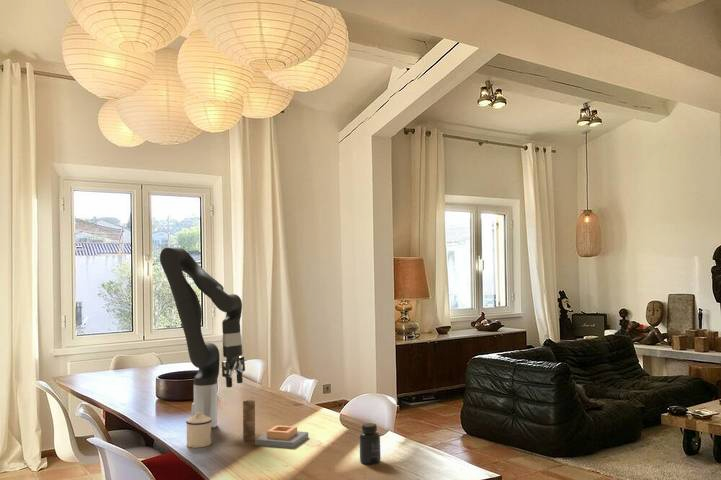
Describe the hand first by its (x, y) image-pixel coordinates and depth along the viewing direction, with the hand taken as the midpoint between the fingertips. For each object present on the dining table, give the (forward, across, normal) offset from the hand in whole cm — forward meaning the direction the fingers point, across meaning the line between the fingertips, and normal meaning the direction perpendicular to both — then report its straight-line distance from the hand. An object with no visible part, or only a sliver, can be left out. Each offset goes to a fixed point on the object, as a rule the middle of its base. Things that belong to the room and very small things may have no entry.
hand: (234, 385), depth 246 cm
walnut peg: (+18, +12, +12) cm, 25 cm away
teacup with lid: (+17, +22, -4) cm, 28 cm away
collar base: (+19, +11, +24) cm, 33 cm away
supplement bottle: (+22, +25, +62) cm, 71 cm away
